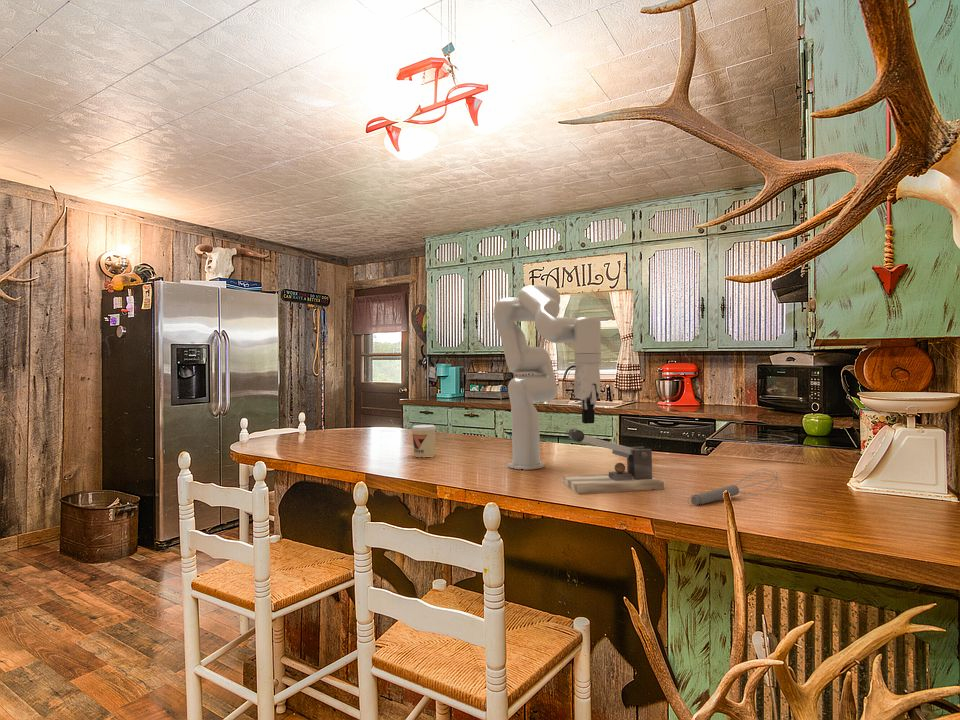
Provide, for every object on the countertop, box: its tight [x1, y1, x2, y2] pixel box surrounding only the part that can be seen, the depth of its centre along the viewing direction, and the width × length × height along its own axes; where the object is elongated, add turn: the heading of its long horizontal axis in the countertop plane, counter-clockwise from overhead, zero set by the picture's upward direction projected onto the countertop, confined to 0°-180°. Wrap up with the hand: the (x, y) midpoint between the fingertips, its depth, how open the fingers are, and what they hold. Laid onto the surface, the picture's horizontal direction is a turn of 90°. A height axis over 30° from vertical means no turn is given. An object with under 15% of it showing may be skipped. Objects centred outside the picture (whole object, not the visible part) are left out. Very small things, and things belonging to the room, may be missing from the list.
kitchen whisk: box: [687, 468, 783, 507], centre depth 142 cm, size 6×34×6 cm, turn 116°
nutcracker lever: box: [567, 428, 639, 459], centre depth 158 cm, size 5×23×4 cm, turn 98°
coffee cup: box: [411, 424, 437, 457], centre depth 214 cm, size 9×9×12 cm
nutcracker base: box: [562, 446, 665, 495], centre depth 158 cm, size 14×25×10 cm, turn 98°
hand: (588, 422), depth 158 cm, fingers closed
